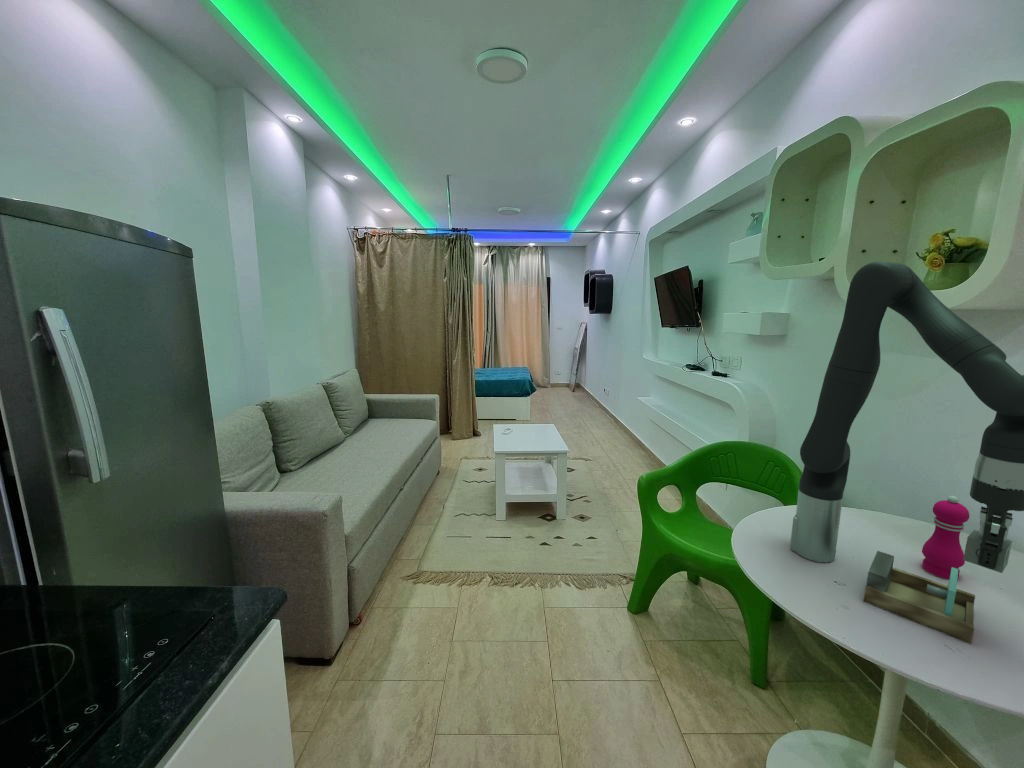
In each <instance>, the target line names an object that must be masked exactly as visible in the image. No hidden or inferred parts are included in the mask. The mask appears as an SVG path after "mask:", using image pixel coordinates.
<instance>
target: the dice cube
mask: <svg viewBox="0 0 1024 768" xmlns="http://www.w3.org/2000/svg"><path fill="white" fill-rule="evenodd" d="M981 540H982V535H981V534H980V533H979V530H976V529H973V530H972V531H971V532H970V534H969V535H968V536H967V538H966V542H965V543H966V544H965V548H964V559H963V560H964V561H965V562H968V563H971V564H973V565H977V566H980V565H979V564H978V559H979V554H980V549H981V547H980V543H981ZM986 542H987V543H990V544H994V545H997V542H994V541H991V540H986ZM1012 545H1013V540H1011V539H1008V538H1007V540H1005V541H1003V544H1002V552H1001V553H999V554H998V559H997V563H996V568H995V569H990V568H987V567H983V566H980V567H982V568H985V569H988V570H991V571H994V572H997V573H1000V574H1002V573H1003V572H1004V571H1005V569H1006V568H1007V566H1008V564H1009V557H1010V553H1011V549H1012Z"/></svg>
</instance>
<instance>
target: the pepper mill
mask: <svg viewBox="0 0 1024 768" xmlns="http://www.w3.org/2000/svg"><path fill="white" fill-rule="evenodd" d="M969 511H970V510H968V508H967V507H966V506H965V505H963V504H961V503H959V498H958V497H957V496H955V495H949V496H947V499H944V500H943V499H942V500H939V501H937V502H935V503H934V504H933V507H932V513H933V514H934V517H933V524H934V525H935V526H934V531H933V533H932V535H931V536H930V537H929V538H928V539H927V540H926V541H925V542H924V544H923V546H922V547H921V548H922V549H921V554H922V555H923V557H924V558H923V559H922V563H921V564H922V565H921V566H922V568H923V570H925V572H926V571H927V572H928V573H929V574H932V575H933V576H936V577H939V578H943V579H946V580H949V579H950V573H951V568H952V567H953V568H956V569H958V578H960V577H959V576H960V573H961V570H960V568H961V567H964V565H965V563H966V561H964V560H963V559H964V554H965V552H964V550H963V548H962V545H961V541H960V534H961V532H963V531H964V528H965V523H966V522H968V521H969V520H970V512H969Z"/></svg>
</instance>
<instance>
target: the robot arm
mask: <svg viewBox="0 0 1024 768" xmlns="http://www.w3.org/2000/svg"><path fill="white" fill-rule="evenodd" d="M888 308H889V309H891V310H893V311H894V312H896V313H898V314H899V315H900V316H902V317H903V318H904V319H906V321H908V322H909V323H910V324H911V325H912V327H914V328H915V330H916V331H917V332H918V334H919V335H920V336H921V338H922V339H923V341H924V343H925V344H926V345H927V346H928V348H929V349H930V350H931V351H933V353H934V354H935V355H936V356H937V357H939V358H940V359H941V360H942V361H943V362H945V363H946V364H947V365H948V366H949V367H950V368H951V369H953V370H954V371H955V372H956V373H958V374H959V375H960V376H961V377H962V379H963V380H964V382H965V383H966V385H967V386H968V387H969V388H970V390H971V391H972V392H973V393H974V395H975V396H976V397H977V398H978V399H979V401H981V403H983V404H984V405H985V406H987V407H988V408H990V410H992V411H995V412H996V413H995V416H994V419H993V421H992V422H991V424H989V425H988V426H986V428H985V429H984V432H983V434H982V438H981V442H980V449H979V453H978V455H977V458H976V461H975V464H974V467H973V474H972V479H971V485H970V490H969V496H970V498H971V499H972V500H974V501H976V502H977V503H979V504H984V505H986V506H981V507H980V510H979V511H980V512H979V519H980V521H979V530H978V531H979V533H980V534H981V535H982V540H981V543H980V547H981V549H980V554H979V559H978V564H979V565H980V567H982V566H983V567H982V568H985V567H987V568H986V569H988V568H990V569H989V570H991V569H995V568H996V563H997V559H998V554H999V553H1001V552H1002V544H1003V541H1005V540H1007V539H1008V534H1009V530H1010V529H1009V528H1010V527H1011V526H1012V523H1013V513H1012V512H1009V511H1015V512H1024V374H1021V373H1019V372H1018V371H1017V370H1016V369H1015V368H1013V367H1012V366H1011V365H1010V364H1009V362H1007V361H1006V360H1007V355H1006V353H1005V352H1004V351H1003V349H1002V348H1000V347H999V346H997V344H995V343H993V342H992V341H991V340H990V339H989V338H988V337H986V336H984V335H983V334H982V333H981V332H979V331H978V330H977V329H975V327H973V326H972V325H970V324H969V323H968V322H966V321H965V320H963V319H962V318H961V317H959V316H958V315H957V314H956V313H955V312H953V310H951V309H950V308H949V307H947V306H946V304H944V303H943V302H942V301H941V300H940V299H939V298H938V297H937V296H936V295H935V294H934V293H933V292H932V291H931V290H930V289H929V288H928V286H926V284H925V283H924V282H923V281H922V279H920V277H919V275H917V274H916V273H915V271H914V270H913V269H912V268H910V267H909V266H907V265H906V264H902V263H898V262H889V261H872V262H869V263H867V264H865V265H863V266H861V267H860V268H859V269H858V270H857V271H856V273H854V276H853V277H852V279H851V281H850V284H849V287H848V292H847V298H846V304H845V308H844V313H843V319H842V322H841V324H840V325H841V326H840V329H839V332H838V335H837V338H836V342H835V344H834V348H833V351H832V354H831V357H830V359H829V362H828V364H827V368H826V372H825V374H824V377H823V381H822V386H821V390H820V393H819V397H818V400H817V406H816V410H815V415H814V418H813V420H812V423H811V425H810V427H809V430H808V431H807V434H806V436H805V437H804V440H803V442H802V444H801V446H800V448H799V456H800V460H801V461H802V464H803V465H804V466H803V470H802V473H801V476H800V479H799V483H798V492H797V493H798V494H797V503H796V511H795V515H794V516H793V518H792V525H791V527H792V528H791V536H790V545H789V549H790V551H793V552H795V553H796V554H797V555H800V556H801V557H802V558H805V559H808V560H809V561H810V560H811V561H813V562H818V563H831V562H833V561H835V558H836V554H837V544H838V537H839V536H838V535H839V530H840V523H841V522H840V521H841V514H842V507H843V498H844V492H845V489H846V485H847V481H848V475H849V474H848V473H849V467H850V460H851V446H850V444H849V442H848V437H849V435H850V434H849V433H850V431H851V428H852V426H853V423H854V422H855V419H856V417H858V414H859V413H860V411H861V410H862V408H863V406H864V405H865V403H866V401H867V399H868V397H869V395H870V392H871V390H872V389H873V386H874V384H875V380H876V378H877V375H878V373H879V370H880V366H881V365H880V364H881V344H880V330H881V325H882V322H883V320H884V316H885V314H886V312H887V309H888ZM986 540H991V541H994V542H997V545H994V544H990V543H987V542H986ZM979 565H978V566H979Z"/></svg>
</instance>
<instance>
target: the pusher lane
mask: <svg viewBox="0 0 1024 768" xmlns="http://www.w3.org/2000/svg"><path fill="white" fill-rule="evenodd" d="M894 561H895V555H893V554H888V553H886V552H883V551H880V550H877V551H876V554H875V556H874V558H873V560H872V562H871V564H870V567H869V570H868V572H867V579H866V586H865V590H864V596H863V602H865V603H867V604H869V605H872V606H873V607H877V608H880V609H883V610H884V611H886V612H890V613H892V614H894V615H897V616H899V617H902V618H903V619H906V620H909V621H912V622H914V623H917V624H920V625H922V626H924V627H927V628H930V629H931V630H935V631H937V632H940V633H942V634H945V635H947V636H950V637H952V638H954V639H957V640H959V641H962V642H964V643H967V644H972V640H973V639H972V638H973V634H974V629H975V624H974V613H975V612H974V611H975V610H974V606H975V599H976V594H974V593H971V592H967V591H965V590H961V589H958V588H956V595H955V600H954V606H953V611H952V616H948V615H945V614H944V607H945V600H946V598H943V597H940V596H937V595H934V594H932V593H929V592H926V590H927V584H928V585H931V586H934V587H937V588H940V589H943V590H946V591H947V589H948V585H947V584H944V583H941V582H938V581H935V580H933V579H929V578H925V577H923V576H920V575H917V574H913V573H911V572H908V571H905V570H904V569H899V568H897V567H893V566H894Z"/></svg>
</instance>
